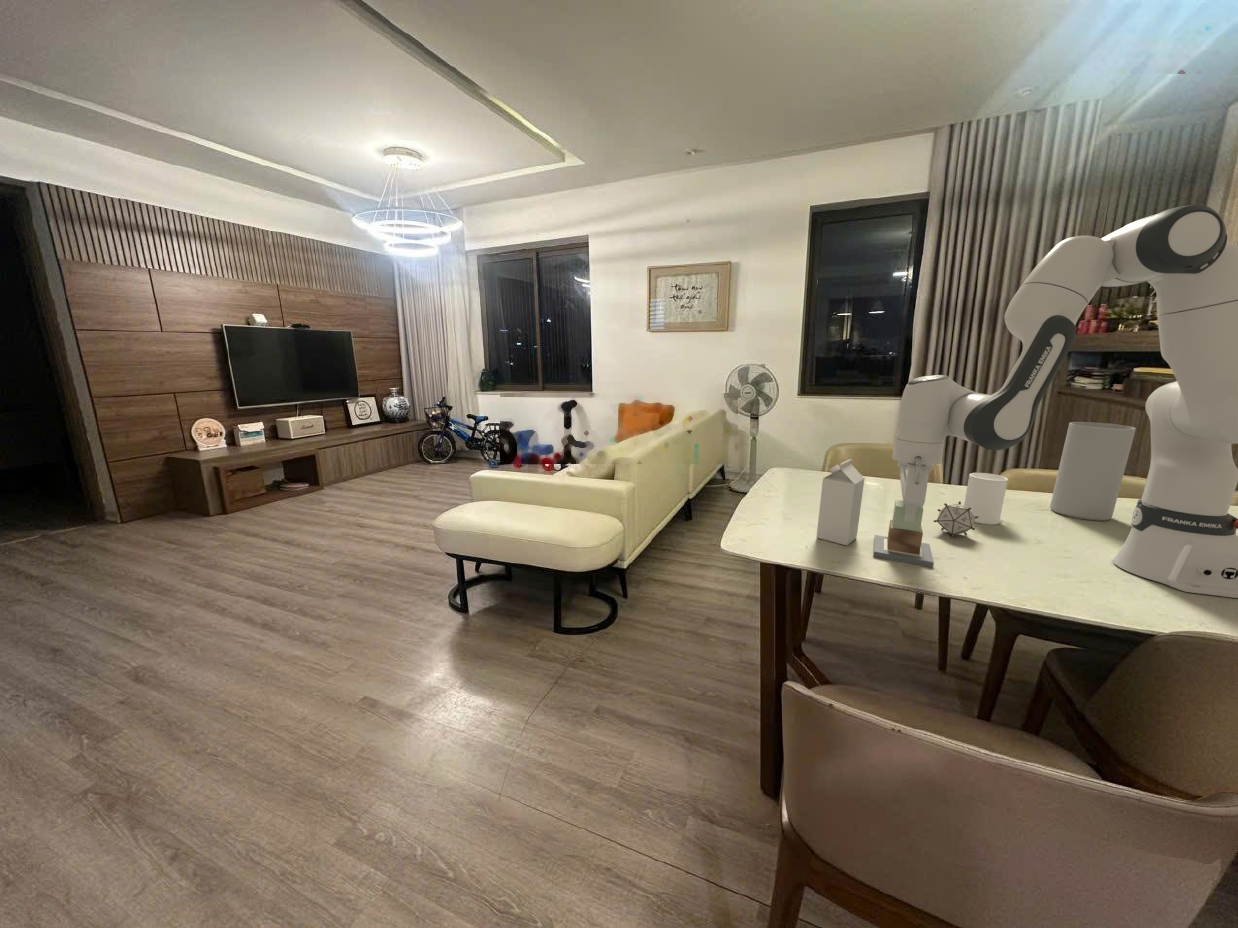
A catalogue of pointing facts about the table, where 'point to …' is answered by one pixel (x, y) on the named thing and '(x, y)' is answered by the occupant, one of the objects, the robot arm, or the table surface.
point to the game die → (955, 519)
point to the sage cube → (899, 518)
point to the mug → (985, 497)
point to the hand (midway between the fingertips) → (907, 514)
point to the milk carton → (840, 504)
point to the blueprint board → (902, 553)
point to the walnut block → (904, 540)
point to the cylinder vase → (1091, 470)
